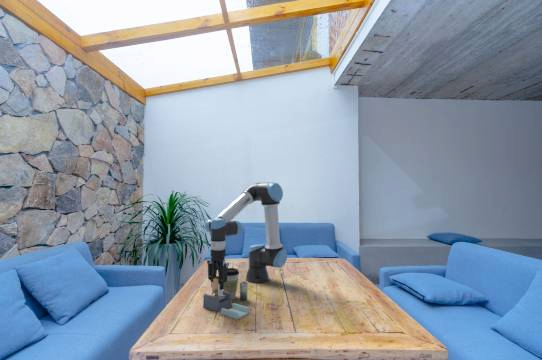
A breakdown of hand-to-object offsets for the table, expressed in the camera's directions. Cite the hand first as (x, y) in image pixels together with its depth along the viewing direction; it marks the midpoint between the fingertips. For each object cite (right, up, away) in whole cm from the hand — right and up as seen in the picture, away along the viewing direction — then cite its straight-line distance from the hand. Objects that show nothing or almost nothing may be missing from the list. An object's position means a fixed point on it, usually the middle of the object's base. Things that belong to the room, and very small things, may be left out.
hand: (217, 294), depth 160 cm
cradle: (0, -6, 0) cm, 6 cm away
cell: (0, 0, 0) cm, 0 cm away
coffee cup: (+5, -7, +14) cm, 16 cm away
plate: (0, -2, 0) cm, 2 cm away
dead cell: (+13, -6, +10) cm, 17 cm away
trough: (+10, -6, -10) cm, 15 cm away
